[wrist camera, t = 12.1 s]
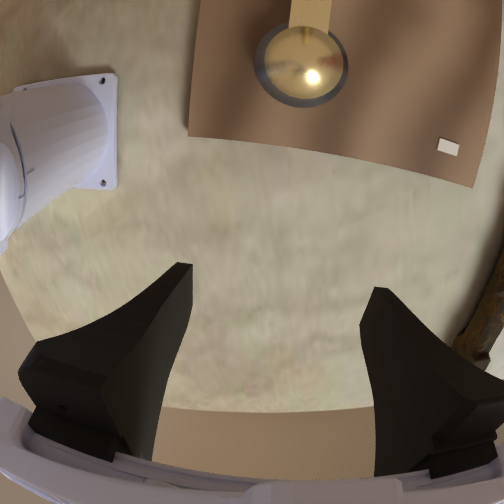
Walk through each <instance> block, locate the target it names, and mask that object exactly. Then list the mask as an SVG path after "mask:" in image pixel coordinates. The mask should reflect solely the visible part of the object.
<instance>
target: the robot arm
mask: <svg viewBox="0 0 504 504" xmlns="http://www.w3.org/2000/svg"><path fill="white" fill-rule="evenodd" d="M103 77H104V78H105V83H104V84H102V82H101V80H102V78H103ZM117 88H118V77H117V75H116V74H115V73H101V74H91V75H82V76H74V77H67V78H60V79H54V80H48V81H42V82H37V83H31V84H26V85H22V86H17V87H15V88H14V90H13V93H9V94H5V95H0V255H1V254H2V253H3V252H4V251H5V250H7V241H8V238H9V236H10V234H11V233H12V232H13V231H14V230H15V229H17V228H18V227H19V226H20V225H22V224H23V223H24V222H26V221H27V220H28V219H29V218H31V217H32V216H33V215H35V214H36V213H37V212H39V211H40V210H41V209H43V208H44V207H45V206H47V205H48V204H50V203H51V202H52V201H54V200H55V199H56V198H58V197H59V196H61V195H62V194H64V193H65V192H66V191H68V190H69V189H71V188H85V189H100V190H113V189H114V188H116V186H117V184H118V177H117ZM26 89H27V90H26ZM102 180H105V181H106V185H105V184H103V182H102ZM192 306H193V264H187V263H180V262H177V263H176V264H174V265H173V266H172V267H171V268H170V269H169V270H167V271H166V272H165V273H164V274H163V275H162V276H161V277H159V278H158V279H157V280H156V281H155V282H154V283H152V284H151V285H150V286H149V287H147V288H146V289H145V290H144V291H143V292H141V293H140V294H139V295H137V296H136V297H134V298H133V299H132V300H130V301H129V302H128V303H126V304H125V305H123V306H122V307H120V308H118V309H117V310H115V311H113V312H112V313H110V314H108V315H106V316H104V317H102V318H100V319H98V320H96V321H94V322H92V323H90V324H88V325H86V326H83V327H81V328H79V329H76V330H73V331H71V332H68V333H65V334H62V335H59V336H56V337H52V338H48V339H45V340H41V341H37V342H36V344H35V345H34V346H33V348H32V350H31V351H30V352H29V354H28V356H27V357H26V359H25V360H24V362H23V363H22V365H21V367H20V368H19V371H18V376H19V380H20V382H21V383H22V386H23V387H24V389H25V390H26V392H27V393H28V395H29V396H30V398H31V399H32V401H33V402H34V404H35V405H36V408H35V410H34V412H33V413H32V412H31V411H29V410H28V409H27V408H25V407H23V406H21V405H19V404H17V403H15V402H13V401H11V400H9V399H7V398H5V397H2V398H1V400H0V472H1V473H2V474H3V475H5V476H6V477H7V478H9V479H11V480H12V481H14V482H15V483H17V484H19V485H20V486H22V487H24V488H26V489H27V490H30V491H31V492H33V493H35V494H37V495H39V496H41V497H42V498H44V499H46V500H48V501H50V502H52V503H54V504H504V443H501V444H499V445H498V446H496V447H495V445H494V442H493V441H494V440H496V439H497V434H496V431H495V430H496V429H497V428H498V427H500V426H501V425H502V424H503V423H504V381H503V380H501V379H499V378H497V377H495V376H493V375H491V374H489V373H487V372H485V371H483V370H482V369H480V368H478V367H477V366H475V365H473V364H472V363H470V362H469V361H467V360H466V359H464V358H463V357H462V356H460V355H459V354H457V353H456V352H455V351H453V350H452V349H451V348H450V347H449V346H447V345H446V344H445V343H444V342H442V341H441V340H440V339H439V338H438V337H437V336H436V335H435V334H433V333H432V332H431V331H430V330H429V329H428V328H427V327H426V326H425V325H424V324H423V323H422V322H421V321H420V320H419V319H418V318H417V317H416V316H415V315H414V314H413V313H412V312H411V311H410V310H409V309H408V308H407V306H406V305H405V304H404V303H403V302H402V301H401V300H400V299H399V298H398V297H397V296H396V295H395V294H394V293H393V292H392V291H391V290H389V289H388V288H382V287H374V289H373V292H372V294H371V297H370V300H369V302H368V305H367V307H366V310H365V312H364V314H363V317H362V319H361V322H360V324H359V326H360V337H361V345H362V350H363V354H364V358H365V363H366V367H367V371H368V375H369V379H370V384H371V388H372V394H373V400H374V411H375V430H376V453H375V454H376V455H375V470H374V477H370V478H359V479H342V480H278V479H262V478H249V477H239V476H230V475H221V474H215V473H208V472H202V471H196V470H190V469H185V468H180V467H175V466H170V465H166V464H161V463H157V462H152V453H153V448H154V440H155V436H156V430H157V424H158V420H159V415H160V410H161V406H162V401H163V397H164V393H165V389H166V385H167V381H168V377H169V374H170V371H171V368H172V366H173V363H174V360H175V358H176V355H177V352H178V350H179V347H180V345H181V342H182V339H183V337H184V334H185V332H186V329H187V326H188V322H189V318H190V314H191V310H192Z"/></svg>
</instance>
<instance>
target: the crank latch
mask: <svg viewBox="0 0 504 504" xmlns="http://www.w3.org/2000/svg"><path fill="white" fill-rule="evenodd" d="M331 3H332V0H291V9H290V17H289V25H288V29H286V30H283V31H282V32H280V33H279V34H277V35H276V36H275V37H274V38H273V39H272V40H271V42H270V43H269V45H268V47H267V49H266V52H265V60H264V62H265V69H266V72H267V75H268V77H269V78H270V80H271V82H272V83H273V84H274V85H275V86H276V87H277V88H278V89H279V90H280V91H282V92H283V93H285V94H287V95H289V96H292V97H295V98H300V99H312V98H317V97H320V96H323V95H325V94H327V93H328V92H330V91H331V90H332V89H333V88H334V87H335V86H336V85H337V83H338V82H339V80H340V78H341V76H342V72H343V57H342V53H341V51H340V49H339V47H338V45H337V44H336V42H335V41H334V40H333V39H332V38H331V37H330V36H329V35H328V29H329V20H330V12H331Z"/></svg>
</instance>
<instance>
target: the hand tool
mask: <svg viewBox="0 0 504 504" xmlns="http://www.w3.org/2000/svg"><path fill="white" fill-rule="evenodd" d="M503 327H504V246H503V248H502V251H501V254H500V256H499V259H498V262H497V264H496V267H495V269H494V272H493V274H492V276H491V279H490V281H489V283H488V284H487V286H485V292H484V294H483V296H482V298H481V300H480V302H479V305H478V307H477V309H476V311H475V313H474V315H473V317H472V319H471V321H470V323H469V325H468V326H467V328H466V330H465V331H462V332H460V333H459V334H458V335H457V337H456V338H455V341H454V343H453V345H452V347H451V349H452V350H453V351H455V352H456V353H457V354H459V355H460V356H462V357H463V358H464V359H466V360H467V361H469V362H470V363H472V364H473V365H475V366H477V367H478V368H480V369H482V370H483V371H485V370H486V368H487V366H488V365H489V363H490V357H489V352H490V350H491V348H492V346H493V344H494V343H495V341H496V339H497V337H498V336H499V334H500V332H501V331H502V329H503Z"/></svg>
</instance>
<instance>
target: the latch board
mask: <svg viewBox="0 0 504 504" xmlns="http://www.w3.org/2000/svg"><path fill="white" fill-rule="evenodd" d="M290 9H291V0H201V2H200V9H199V17H198V25H197V33H196V42H195V51H194V61H193V72H192V83H191V95H190V108H189V123H188V136H191V137H204V138H216V139H227V140H237V141H246V142H255V143H263V144H271V145H278V146H285V147H292V148H299V149H305V150H312V151H318V152H323V153H329V154H335V155H340V156H345V157H350V158H355V159H360V160H365V161H370V162H375V163H379V164H384V165H388V166H392V167H397V168H401V169H405V170H409V171H413V172H417V173H421V174H425V175H428V176H432V177H436V178H439V179H443V180H447V181H450V182H453V183H457V184H460V185H464V186H467V187H470V188H473V186H474V182H475V179H476V175H477V172H478V168H479V165H480V161H481V157H482V153H483V149H484V145H485V141H486V137H487V132H488V128H489V123H490V118H491V113H492V107H493V102H494V96H495V89H496V82H497V75H498V66H499V56H500V44H501V26H502V0H332V3H331V12H330V20H329V29H328V35H329V36H330V37H331V38H332V39H333V40H334V41H335V42H336V44H337V45H338V47H339V49H340V51H341V53H342V57H343V72H342V76H341V78H340V80H339V82H338V83H337V85H336V86H335V87H334V88H333V89H332V90H331V91H330V92H328V93H327V94H325V95H323V96H320V97H317V98H312V99H300V98H295V97H292V96H289V95H287V94H285V93H283V92H282V91H280V90H279V89H278V88H277V87H276V86H275V85H274V84H273V83H272V82H271V80H270V78H269V77H268V75H267V72H266V69H265V62H264V60H265V52H266V49H267V47H268V45H269V43H270V42H271V40H272V39H273V38H274V37H275V36H276V35H277V34H279V33H280V32H282V31H283V30H286V29H288V25H289V17H290Z"/></svg>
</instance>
